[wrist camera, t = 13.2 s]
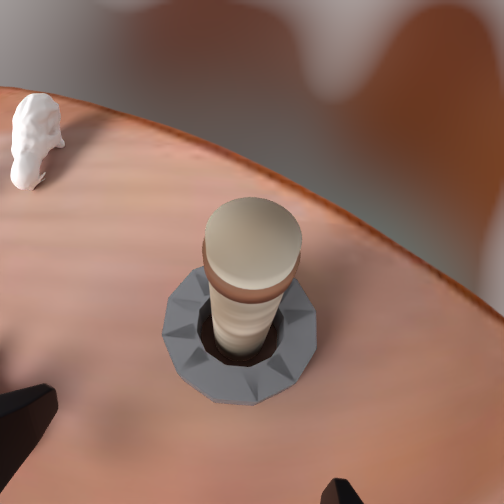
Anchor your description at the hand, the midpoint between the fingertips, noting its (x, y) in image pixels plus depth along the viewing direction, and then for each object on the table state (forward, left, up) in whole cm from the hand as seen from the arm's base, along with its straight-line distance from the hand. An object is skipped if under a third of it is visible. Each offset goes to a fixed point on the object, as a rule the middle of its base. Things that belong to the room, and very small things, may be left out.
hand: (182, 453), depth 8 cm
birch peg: (+6, -5, -13) cm, 15 cm away
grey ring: (+6, -5, -13) cm, 15 cm away
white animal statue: (+34, +9, -13) cm, 37 cm away
